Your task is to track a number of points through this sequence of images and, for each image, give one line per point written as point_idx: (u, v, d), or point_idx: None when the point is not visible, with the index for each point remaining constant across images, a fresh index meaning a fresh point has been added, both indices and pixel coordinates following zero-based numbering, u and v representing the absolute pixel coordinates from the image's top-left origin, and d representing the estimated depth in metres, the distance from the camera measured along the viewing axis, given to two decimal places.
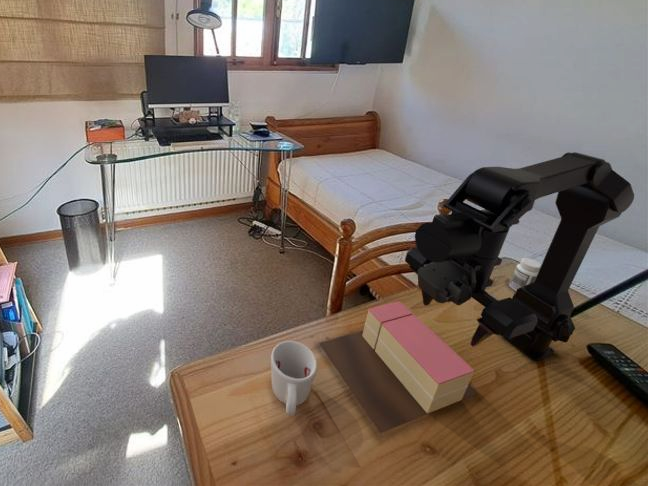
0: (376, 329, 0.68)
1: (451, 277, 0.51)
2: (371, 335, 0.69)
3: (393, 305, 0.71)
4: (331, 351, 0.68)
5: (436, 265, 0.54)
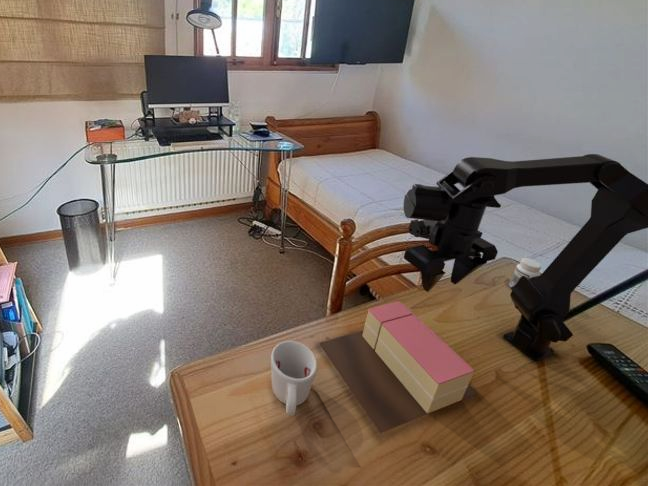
0: (376, 329, 0.68)
1: (427, 224, 0.71)
2: (371, 335, 0.69)
3: (393, 305, 0.71)
4: (331, 351, 0.68)
5: (438, 222, 0.72)
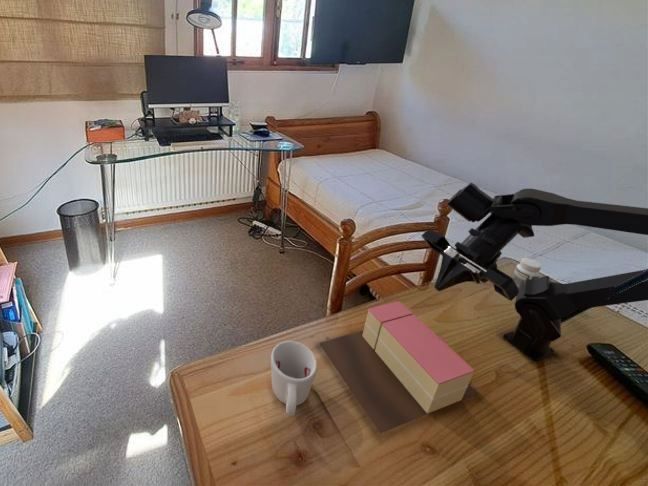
0: (376, 329, 0.68)
1: None
2: (371, 335, 0.69)
3: (393, 305, 0.71)
4: (331, 351, 0.68)
5: None
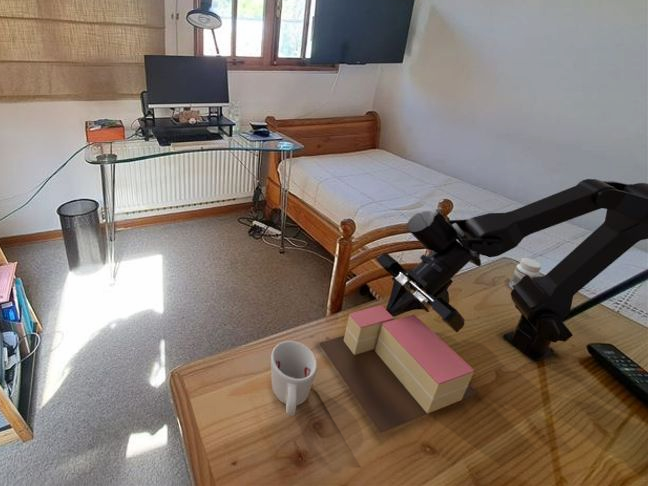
0: (356, 334, 0.66)
1: None
2: (352, 340, 0.68)
3: (375, 309, 0.69)
4: (331, 351, 0.68)
5: None
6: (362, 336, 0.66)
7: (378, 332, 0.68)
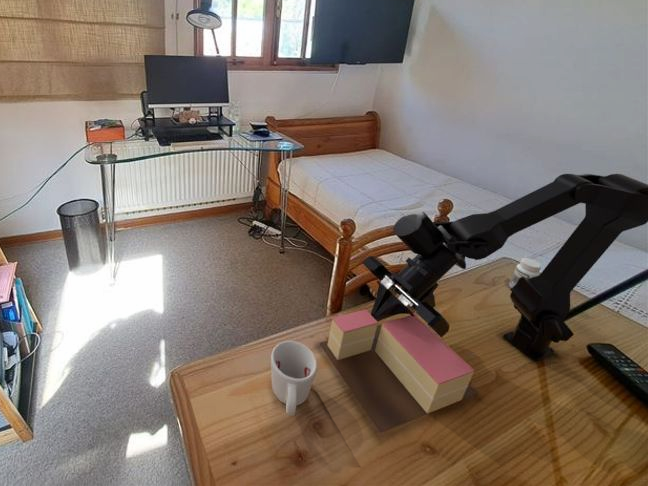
0: (339, 339, 0.65)
1: None
2: (335, 345, 0.67)
3: (359, 314, 0.68)
4: (331, 351, 0.68)
5: None
6: (345, 341, 0.65)
7: (362, 337, 0.66)
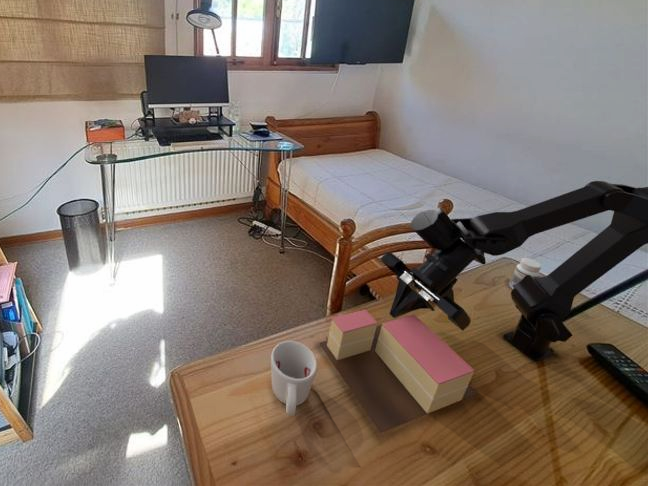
0: (339, 339, 0.65)
1: None
2: (335, 345, 0.67)
3: (358, 314, 0.68)
4: None
5: None
6: (345, 341, 0.65)
7: (361, 337, 0.66)
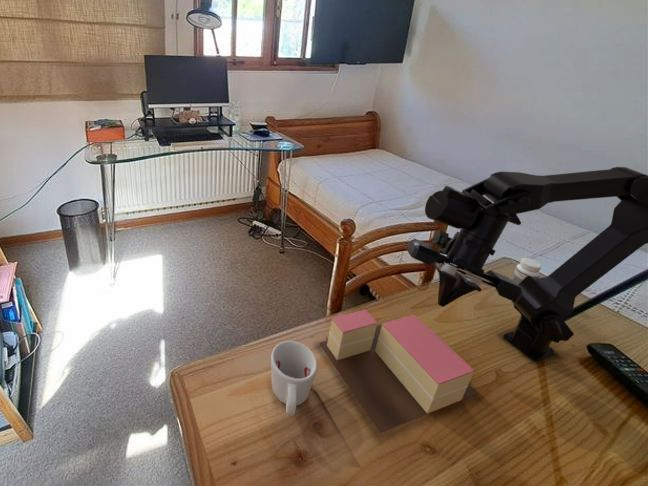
0: (339, 339, 0.65)
1: None
2: (335, 345, 0.67)
3: (358, 314, 0.68)
4: None
5: None
6: (345, 341, 0.65)
7: (361, 337, 0.66)
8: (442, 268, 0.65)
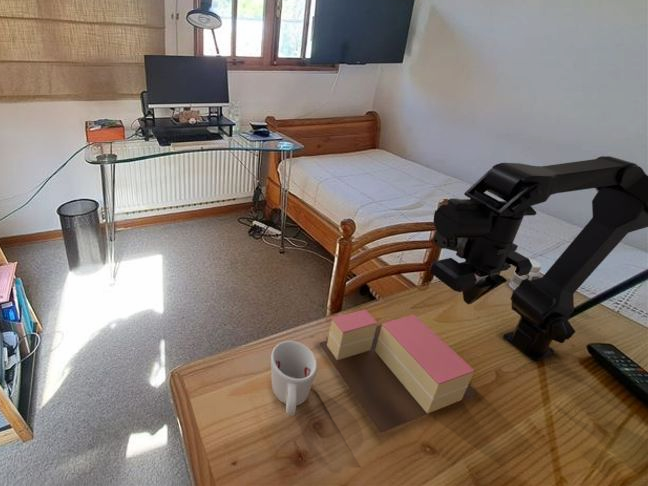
0: (339, 339, 0.65)
1: None
2: (335, 345, 0.67)
3: (358, 314, 0.68)
4: None
5: None
6: (345, 341, 0.65)
7: (361, 337, 0.66)
8: (476, 281, 0.60)
